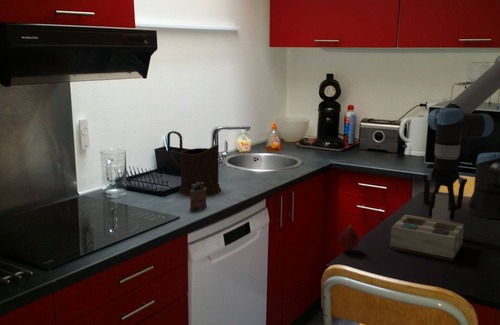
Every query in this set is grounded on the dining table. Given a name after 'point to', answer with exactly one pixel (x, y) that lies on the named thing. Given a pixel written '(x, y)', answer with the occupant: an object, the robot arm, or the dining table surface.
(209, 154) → the dark brown mug
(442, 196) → the plug
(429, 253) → the socket board
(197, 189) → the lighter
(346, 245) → the onion
